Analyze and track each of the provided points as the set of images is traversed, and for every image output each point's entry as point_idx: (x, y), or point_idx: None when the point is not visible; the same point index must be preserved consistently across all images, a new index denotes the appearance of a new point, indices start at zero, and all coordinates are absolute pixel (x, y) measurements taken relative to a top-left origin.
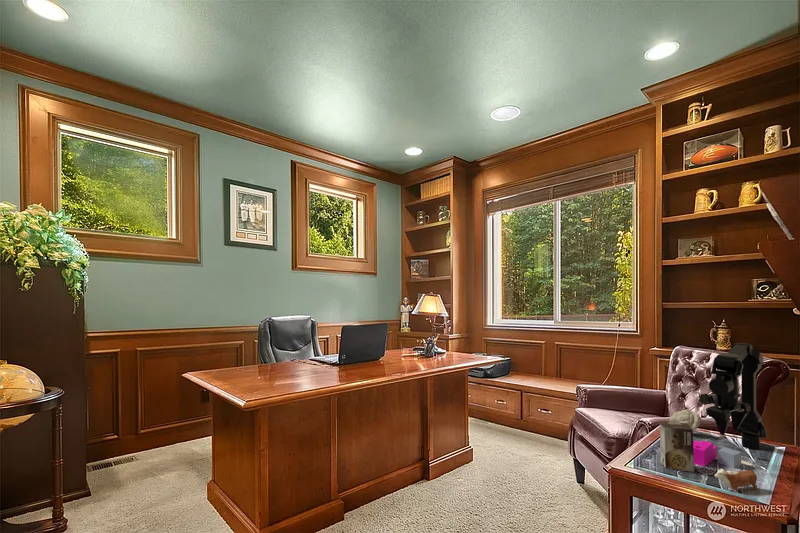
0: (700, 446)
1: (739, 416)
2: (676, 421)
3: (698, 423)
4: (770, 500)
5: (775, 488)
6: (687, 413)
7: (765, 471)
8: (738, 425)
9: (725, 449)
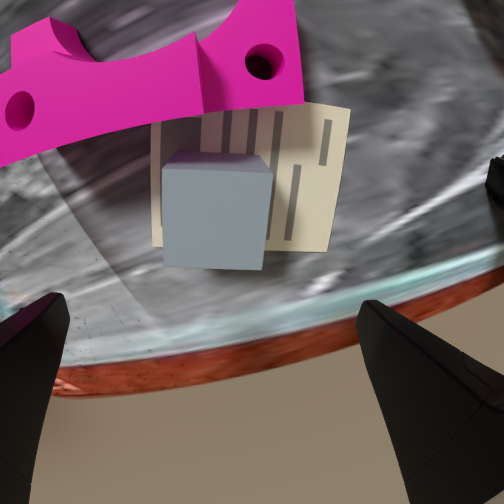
0: (41, 110)
1: (428, 476)
2: None
3: None
4: (59, 367)
5: (150, 361)
6: None
7: (285, 302)
8: (374, 384)
9: (222, 194)
